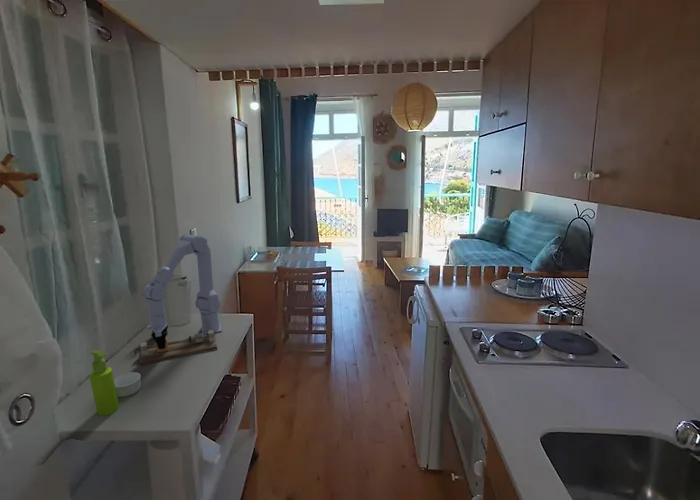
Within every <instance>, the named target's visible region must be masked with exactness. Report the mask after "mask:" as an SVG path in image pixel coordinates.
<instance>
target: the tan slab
mask: <svg viewBox="0 0 700 500" xmlns="http://www.w3.org/2000/svg"><path fill="white" fill-rule="evenodd" d="M147 343H148V342H145V341H144V342H141V343H140V345H139V346H140V353H141V354H140V356H139V360H138V361H139V362H138V363H139V365H140V366H141V365H142V366H143V365H147V364H151V363H157V362H161V361H166V360H170V359H175V358H180V357H186V356H189V355H190V356H191V355H196V354H200V353H205V352H209V351H215V350H218V346H217V339H216V334H215V333H213V330H209V331H208V334H205V335H202V332H200V333H195V334H194V336H193V337H192V336H191V335H190V336H188V338H183V339H178V340H177V339H176V340H173V341H168V342H167V343H168V345H169V348H168V350H167V351H162V352H157V348H156V344H151V345H148V344H147Z"/></svg>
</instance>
